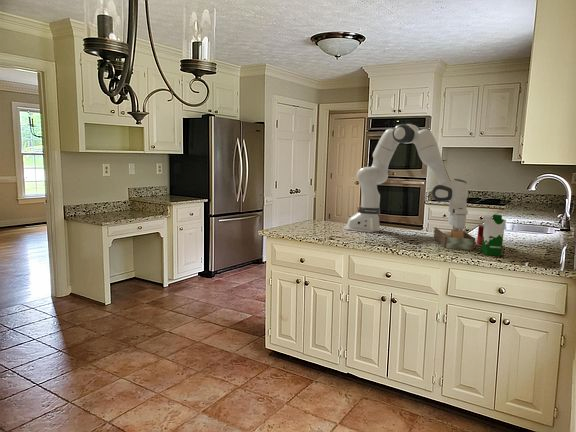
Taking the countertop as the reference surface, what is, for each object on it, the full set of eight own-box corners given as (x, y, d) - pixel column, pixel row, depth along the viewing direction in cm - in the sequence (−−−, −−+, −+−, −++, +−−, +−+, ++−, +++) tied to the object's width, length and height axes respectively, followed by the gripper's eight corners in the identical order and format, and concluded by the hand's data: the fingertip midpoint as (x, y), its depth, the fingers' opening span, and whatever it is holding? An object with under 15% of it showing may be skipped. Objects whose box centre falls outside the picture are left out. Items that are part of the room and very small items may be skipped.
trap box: (444, 247, 227) (445, 236, 226) (433, 237, 254) (434, 227, 253) (474, 249, 225) (475, 238, 224) (460, 239, 252) (461, 229, 251)
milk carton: (486, 255, 213) (491, 215, 210) (477, 251, 222) (482, 212, 218) (503, 256, 213) (508, 216, 210) (494, 252, 222) (499, 213, 219)
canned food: (483, 246, 235) (485, 226, 234) (473, 243, 243) (475, 223, 241) (495, 246, 237) (497, 226, 236) (484, 242, 245) (487, 223, 243)
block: (452, 238, 231) (453, 231, 230) (450, 237, 236) (451, 229, 235) (462, 239, 230) (463, 232, 230) (460, 237, 235) (460, 230, 235)
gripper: (446, 206, 246) (444, 230, 248) (456, 211, 226) (453, 237, 228) (458, 207, 245) (456, 231, 247) (468, 212, 225) (466, 238, 227)
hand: (455, 234), depth 237 cm, fingers closed
